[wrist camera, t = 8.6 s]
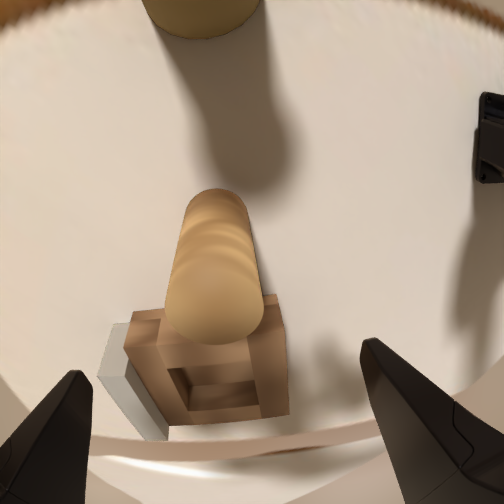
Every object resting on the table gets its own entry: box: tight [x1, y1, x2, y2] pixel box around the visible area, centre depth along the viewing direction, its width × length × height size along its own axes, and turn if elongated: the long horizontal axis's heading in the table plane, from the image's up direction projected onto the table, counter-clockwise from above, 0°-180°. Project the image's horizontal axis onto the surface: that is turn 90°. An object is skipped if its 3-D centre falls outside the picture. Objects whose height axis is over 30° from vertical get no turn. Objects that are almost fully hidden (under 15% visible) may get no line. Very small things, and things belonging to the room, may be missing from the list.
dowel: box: [165, 189, 264, 345], centre depth 15 cm, size 4×4×8 cm
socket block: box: [123, 294, 289, 426], centre depth 23 cm, size 10×10×4 cm
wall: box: [97, 323, 169, 441], centre depth 22 cm, size 2×9×5 cm, turn 7°
